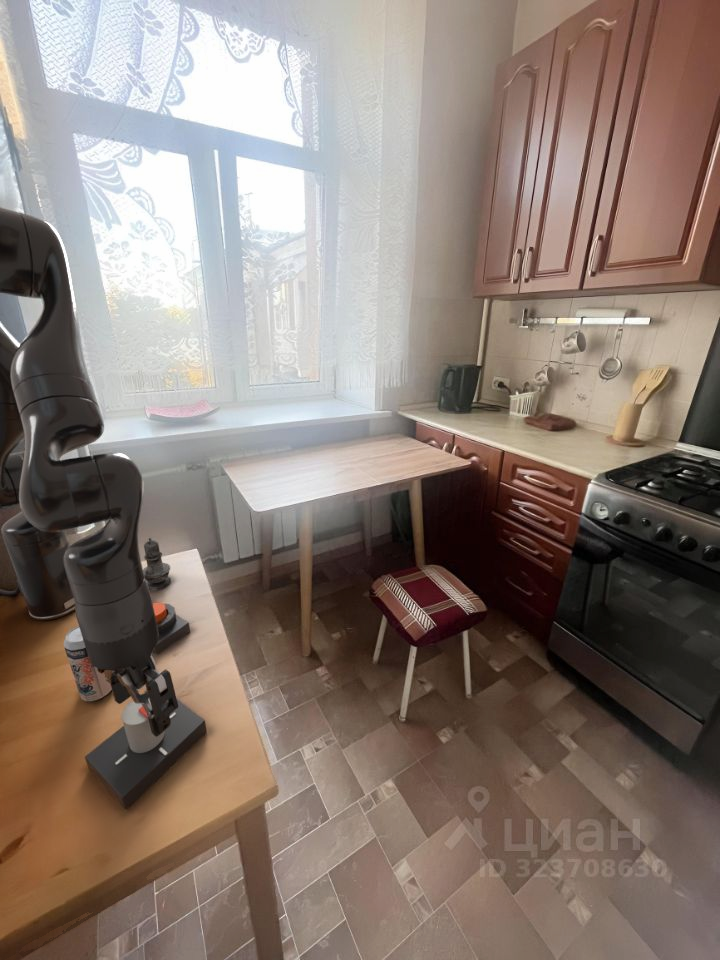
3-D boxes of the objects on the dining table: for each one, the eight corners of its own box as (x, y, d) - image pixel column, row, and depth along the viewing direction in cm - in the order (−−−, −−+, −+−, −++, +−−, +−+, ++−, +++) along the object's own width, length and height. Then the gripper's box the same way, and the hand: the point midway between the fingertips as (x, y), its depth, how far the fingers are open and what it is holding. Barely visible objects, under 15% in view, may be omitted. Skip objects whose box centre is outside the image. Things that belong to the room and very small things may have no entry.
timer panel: (88, 768, 53) (84, 755, 52) (169, 702, 62) (167, 689, 61) (125, 810, 49) (121, 797, 48) (207, 732, 58) (205, 719, 57)
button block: (125, 632, 76) (121, 615, 74) (159, 611, 81) (156, 596, 80) (156, 654, 71) (153, 637, 70) (190, 631, 77) (187, 615, 75)
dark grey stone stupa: (161, 593, 87) (152, 546, 82) (138, 589, 88) (128, 542, 83) (178, 577, 92) (170, 532, 88) (155, 573, 93) (147, 529, 89)
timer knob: (122, 741, 54) (114, 712, 52) (153, 716, 57) (146, 687, 55) (141, 760, 52) (133, 729, 50) (171, 732, 55) (165, 703, 53)
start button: (139, 618, 74) (137, 611, 74) (158, 607, 77) (157, 599, 77) (151, 627, 72) (150, 619, 72) (171, 614, 75) (169, 607, 75)
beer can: (73, 696, 63) (54, 638, 58) (102, 674, 67) (85, 618, 62) (94, 707, 61) (76, 648, 57) (122, 683, 65) (107, 627, 61)
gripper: (183, 621, 46) (201, 718, 52) (117, 581, 53) (139, 670, 59) (119, 664, 40) (147, 768, 46) (54, 612, 47) (85, 708, 53)
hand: (142, 713), depth 53 cm, fingers open, 8 cm apart
